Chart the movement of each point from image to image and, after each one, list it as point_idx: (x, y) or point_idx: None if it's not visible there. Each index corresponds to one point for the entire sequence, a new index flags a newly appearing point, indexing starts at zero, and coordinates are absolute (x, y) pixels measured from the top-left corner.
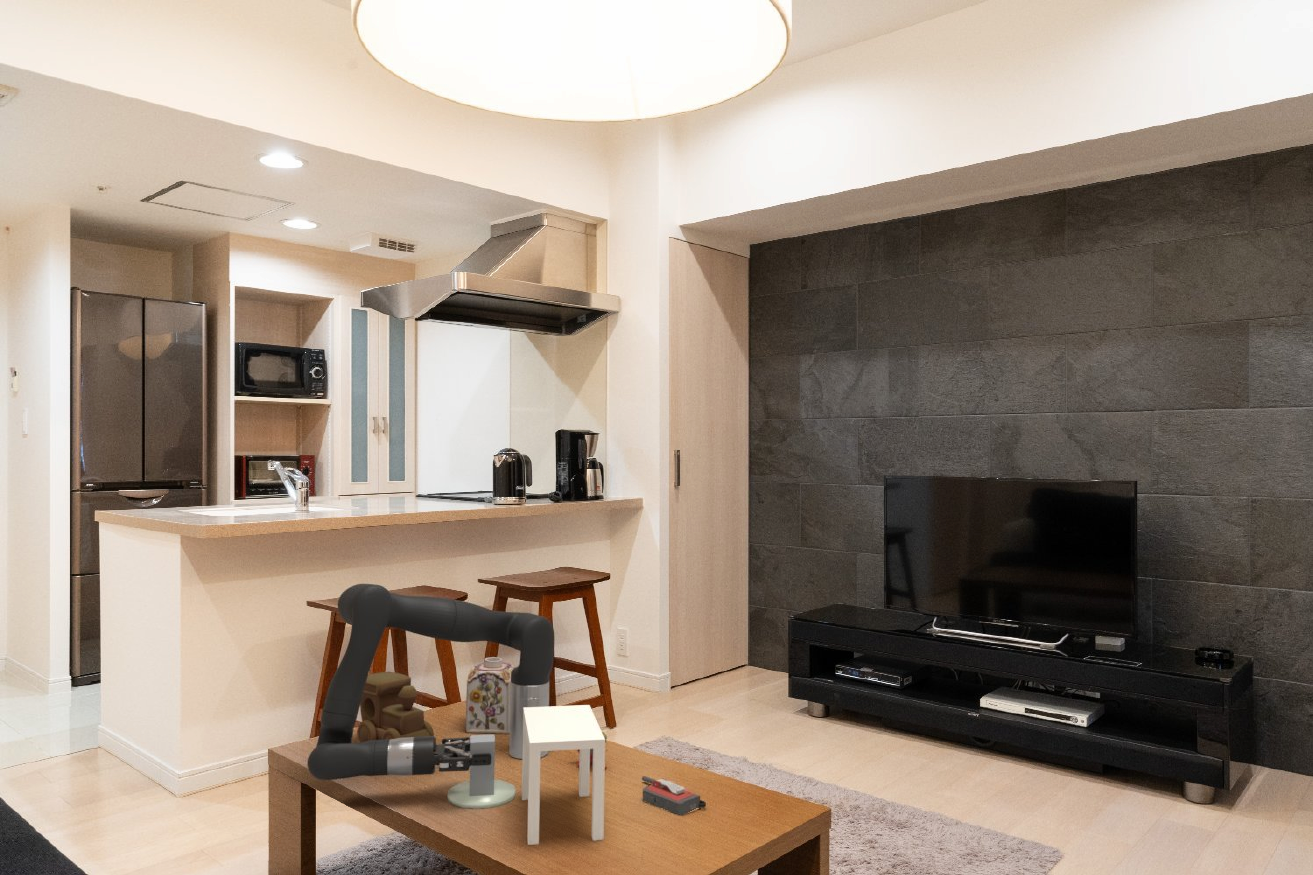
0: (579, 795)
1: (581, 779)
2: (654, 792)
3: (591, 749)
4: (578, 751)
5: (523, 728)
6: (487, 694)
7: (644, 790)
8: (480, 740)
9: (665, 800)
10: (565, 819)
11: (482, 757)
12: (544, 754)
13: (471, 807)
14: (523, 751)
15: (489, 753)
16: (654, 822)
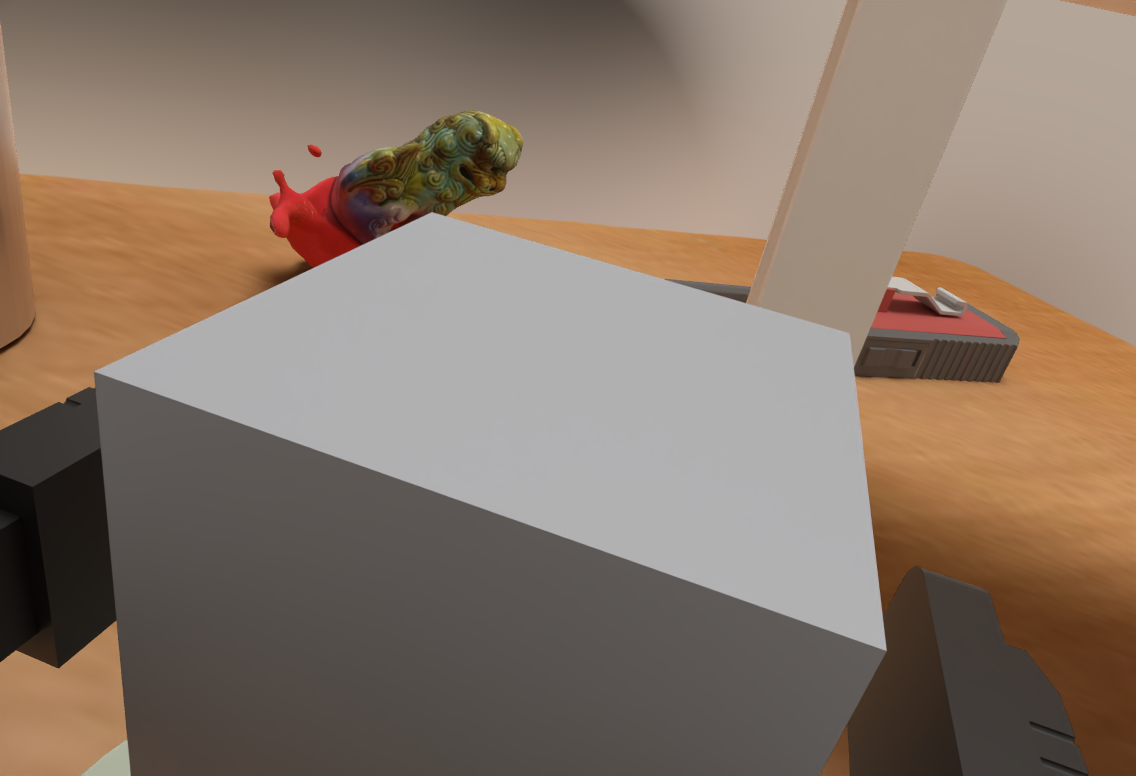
0: None
1: None
2: (908, 332)
3: (408, 216)
4: (299, 239)
5: (974, 70)
6: None
7: (872, 336)
8: (713, 420)
9: (961, 348)
10: (1099, 655)
11: (1058, 750)
12: (33, 300)
13: None
14: (860, 342)
15: (938, 578)
16: (1080, 443)
